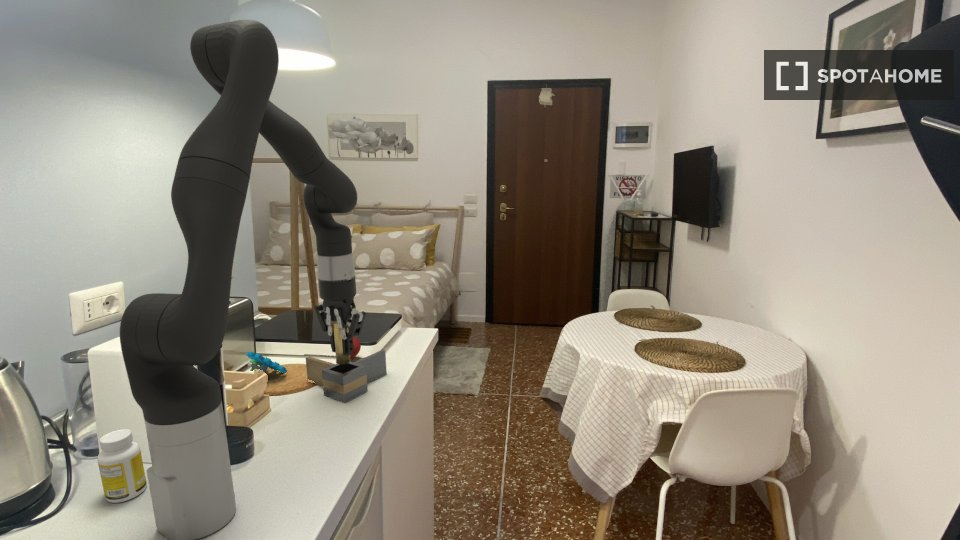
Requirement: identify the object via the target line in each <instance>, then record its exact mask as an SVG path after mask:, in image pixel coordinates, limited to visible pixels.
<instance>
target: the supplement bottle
mask: <svg viewBox="0 0 960 540" xmlns="http://www.w3.org/2000/svg"><path fill="white" fill-rule="evenodd" d="M133 439H134V437H133V434H132V430H131V429H128V428H125V429H124V428H122V429H118V430H113V431H111V432H108V433H105V434H104V435H103V436H101V437H100V439H99V444H100V445H99V446H100V449H101V451H100V452H99V454H98V456H97V466H98V469H99V476H100V479H101V483H102V490H103V493H104V497H105V500H106V501H107V502H109V503H113V504H114V503H116V504H117V503H123V502H128V501H129V500H131V499H134V498H136V497H138V496H139V495H141V494H142V493H143V492H144V491H145V490H146V488H147V485H148V483H147V482H148V481H147V476H146V472H145V468H144V467H145V466H144V462H143V457H142V450H141V446H140V444H139V443H138V442H136V441H133Z"/></svg>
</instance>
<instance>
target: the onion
mask: <svg viewBox="0 0 960 540" xmlns="http://www.w3.org/2000/svg"><path fill="white" fill-rule="evenodd" d="M348 332H349V330H348ZM353 345H354V351H353V353H352V354H350V360H351V361H352V360H353V359H355V357H356V356H357V355H358V354H359V353H360V350H361V347H362V346H361V345H362V344H361V341H360V339H359V337H357V336H355V337H353Z"/></svg>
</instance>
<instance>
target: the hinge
mask: <svg viewBox="0 0 960 540" xmlns="http://www.w3.org/2000/svg"><path fill="white" fill-rule="evenodd" d="M386 355H387V354H386V350H385V349H381V350H379V351H376V352H374V353H372V354H370V355H368V356H366V357H363V358H360V359H359V360H356V361H354V362H353V361H350V362H349V363H347V364H337V363H333V362H329V361H327V360H322V359H319V358H316V357H313V356H307V357H305V368H306V376H307V377H306V378H307V380H308V379H309V380H312V381H314V382H315V383H316V384H317V385H316V386H318V387H321V386H322V387H321V388H322V389H323V396H324V397H325V398H326V397H327V398H330V399H332V400H335V401H338V402H340V403H344V404H346V403H348V402H350V401H352V400H353V399H355V398H357V397H359V396H361V395H364V394H365V393H367V392H369V390H368V385H369V384H370V383H373V382H375V381H376V380H379V379H380V378H382V377H384V376H386V375H387V357H386Z"/></svg>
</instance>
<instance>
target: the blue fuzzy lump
mask: <svg viewBox="0 0 960 540" xmlns="http://www.w3.org/2000/svg"><path fill="white" fill-rule="evenodd" d="M245 355H246V356H247V358H249V359H250V361H249V363H251V364H250V367H251V368H250V370H249V371H253V370H254V371H255V370H258V369H260V370H263V371H264V372H266V371H267V370H268V369H270V370H272V369H274V370H278V371H280V372H283V374H285V373H286V374H287V372H288V370H287V368H286V367H284V366H283V365H281V364H280V363H278V361H277V362H276V361H272V359H271V358H269V357H267V356H263V355H262V354H260V353H257V352H256V353H255V352H254V351H246V354H245ZM260 370H259V371H260ZM254 371H253V372H254ZM278 371H277V372H278ZM280 372H279V373H280Z"/></svg>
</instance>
